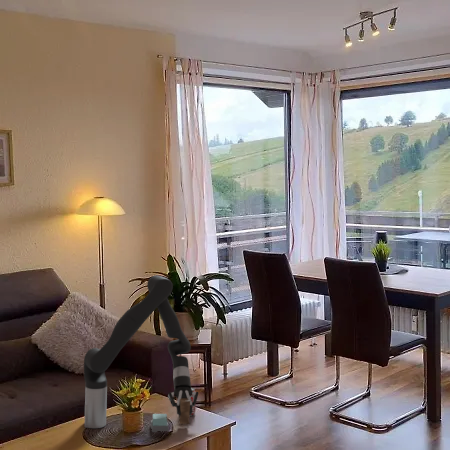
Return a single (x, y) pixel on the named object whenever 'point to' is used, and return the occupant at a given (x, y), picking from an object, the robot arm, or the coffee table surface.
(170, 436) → the coffee table surface
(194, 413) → the soda can
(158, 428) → the tower base
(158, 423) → the tower top
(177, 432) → the coffee table surface
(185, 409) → the pillar
